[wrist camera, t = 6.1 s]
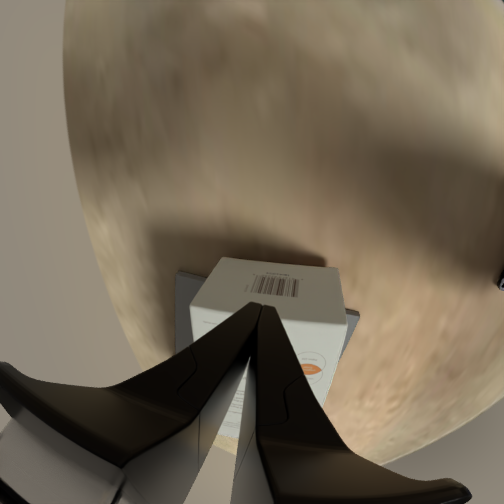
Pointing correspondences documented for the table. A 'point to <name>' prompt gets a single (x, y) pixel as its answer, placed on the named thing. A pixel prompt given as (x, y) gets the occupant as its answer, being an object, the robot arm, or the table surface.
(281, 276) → the small box
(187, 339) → the mat
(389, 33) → the table surface
